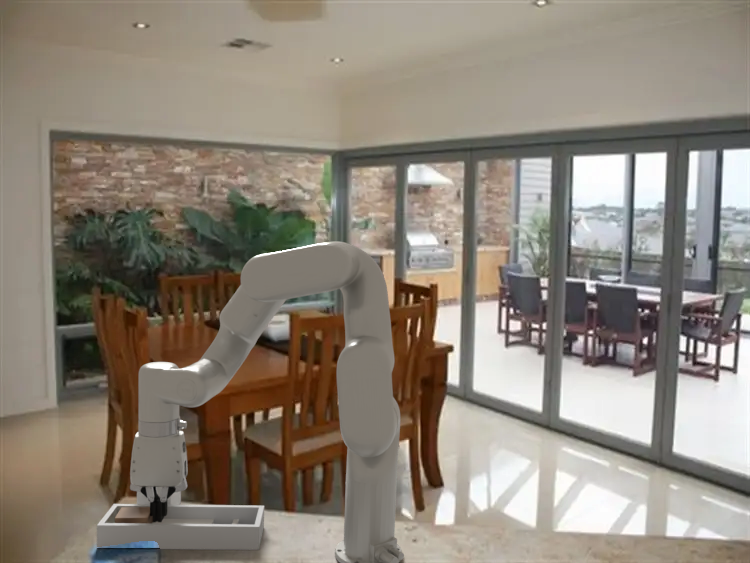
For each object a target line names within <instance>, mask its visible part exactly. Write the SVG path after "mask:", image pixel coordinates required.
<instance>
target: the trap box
mask: <svg viewBox="0 0 750 563" xmlns="http://www.w3.org/2000/svg"><path fill="white" fill-rule="evenodd" d="M122 507H150V504H137V503H113V504H112V505H111V507H110V508H109V509H108V510H107V512H106V513H105V514H104V516H103V517H102V518H101V519H100V521H99V522H98V523H97V524H96V548H97V547H102V546H110V545H118V544H125V543H131V542H139V541H155V542H157V543H158V545H159V548H160V549H159V550H211V551H212V550H217V551H218V550H219V551H220V550H225V551H226V550H234V551H235V550H237V551H239V550H241V551H246V550H247V551H249V550H250V551H252V550H253V551H258V550H260V546H261V542H262V537H263V532H264V528H265V505H251V504H250V505H248V504H247V505H244V504H243V505H241V504H240V505H239V504H235V505H234V504H181V505H169V504H167V515H166V516H164V518H163V520H162V522H152V524H150V523H115V517H116V515H117V514H118V512H119V511H120V509H121V508H122Z"/></svg>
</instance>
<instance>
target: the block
mask: <svg viewBox="0 0 750 563" xmlns="http://www.w3.org/2000/svg"><path fill="white" fill-rule="evenodd" d="M152 522H153V516H150V507H122V508H121V509H120V511H119V512H118V514H117V515H116V517H115V523H150V524H152Z"/></svg>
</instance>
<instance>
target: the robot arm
mask: <svg viewBox="0 0 750 563" xmlns="http://www.w3.org/2000/svg"><path fill="white" fill-rule="evenodd" d="M336 290H340V291H341V295H342V298H343V299H342V300H343V301H342V302H343V319H344V320H343V321H344V330H345V331H344V333H345V339H344V340H345V345H344V348H343V349H342V350H341V352H340V354H339V356H338V359H337V363H336V387H337V388H336V389H337V403H338V419H339V429H340V434H341V438H342V441H343V443H344V444H345V446H346V447H347V454H346V470H345V473H346V474H345V492H344V493H345V495H344V522H343V539H342V540H341V541H340V542H338V543H337V545H335V548H334V549H335V550H334V555H335V556H334V557H335V559H336V560H337V561H338V563H400V562H401V561H402V560H404V558H405V554H404V553H403V551H402V548H401V546H399V544H398V538H397V537H395V532H396V531H395V527H396V510H397V509H396V508H397V505H396V504H397V503H396V502H397V480H398V464H399V461H398V460H399V444H400V433H401V432H400V431H401V430H400V429H401V411H400V406H399V404H398V401H397V400H396V399H395V397H394V392H393V370H394V367H395V352H394V351H395V350H394V346H393V336H392V323H391V322H392V320H391V313H390V304H389V301H390V300H389V294H388V286H387V282H386V279H385V275H384V273H383V271H382V270H381V267H380V266H379V264H378V263H377V261H376V260H375V259H374V258H373V257H372V256H371V255H370V254H369V253H367V252H366V251H365V250H363V249H361V248H359V247H357V246H355V245H354V244H350V243H348V242H344V241H338V240H337V241H327V242H320V243H315V244H309V245H306V246H300V247H296V248H291V249H286V250H282V251H281V250H279V251H275V252H268V253H267V252H266V253H261V254H257V255H255V256H253V257H251V258H250V259H248V261H247V262H246V263H245V264H244V266H243V268H242V270H241V273H240V285H239V287H238V288H237V289H236V291H235V293H233V294H232V296H231V298H230V299H229V300H228V302H227V303H226V305H225V306H224V307H223V308H222V310H221V311H220V314H219V325H220V326H219V330H218V332H217V334H216V336H215V337H214V340H213V341H212V343H210V346H208V348H207V349H206V350H205V352H204V354H203V355H202V356H201V358H200V359H199V360H198V361H196V362H193V363H192V364H190V365H187V366H184V367H181V368H179V366H178V365H177V364H176V363H173V362H168V361H153V362H148V363H145V364H143V365H142V366H140V368H139V370H138V424H137V425H138V431H137V432H136V433H135V435H134V439H133V444H132V450H131V460H130V467H129V468H130V469H129V470H130V472H129V475H130V476H129V478H130V485H129V489H130V491H133V492H136V493H137V492H141V493H142V494H143V495H144V496H145V497H146V498H147V499H148V501H149V502H150V516H153V522H162V520H163V518H164V516H166V515H167V499H168V498H169V497H170V496H171V495H172V494H173V493H175V492H180V491H181V492H183V491H185V490H186V489H187V488H188V482H187V479H186V478H187V476H188V472H189V471H188V450H187V445H186V444H187V443H186V437H185V433H184V431H183V429H187V426H188V422H187V421H186V420H182V419H181V416H180V407H181V406H182V407H185V408H198V407H200V406H203V405H204V404H205V403H207V402H208V401H210V400H211V399H212V398H214V397H215V396H216V395H218V394H220V393H221V392H222V391H224V389H225V388H226V386H227V385H228V384H229V383H230V381H231V380H232V379H233V377H234V376H235V375H236V374H237V373H238V370H240V368H241V366H242V365H243V363H244V362H245V361H246V359H247V358H248V356H249V354H250V352H251V350H252V349H253V348H254V347H255V346H256V343H257V341H258V339H259V338H260V337H261V336H262V334H263V333H264V331H265V330H266V329H267V327H268V325H269V324H270V322H271V321H272V320H273V318H275V316H276V314H277V313H278V312H279V310H280V309H281V308H282V306H283V305H284V303H285V302H286V301H287V300H291V299H296V298H302V297H307V296H312V295H318V294H323V293H329V292H333V291H336ZM157 487H162V490H161V496H160V498H159V496H158V493H157Z"/></svg>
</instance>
